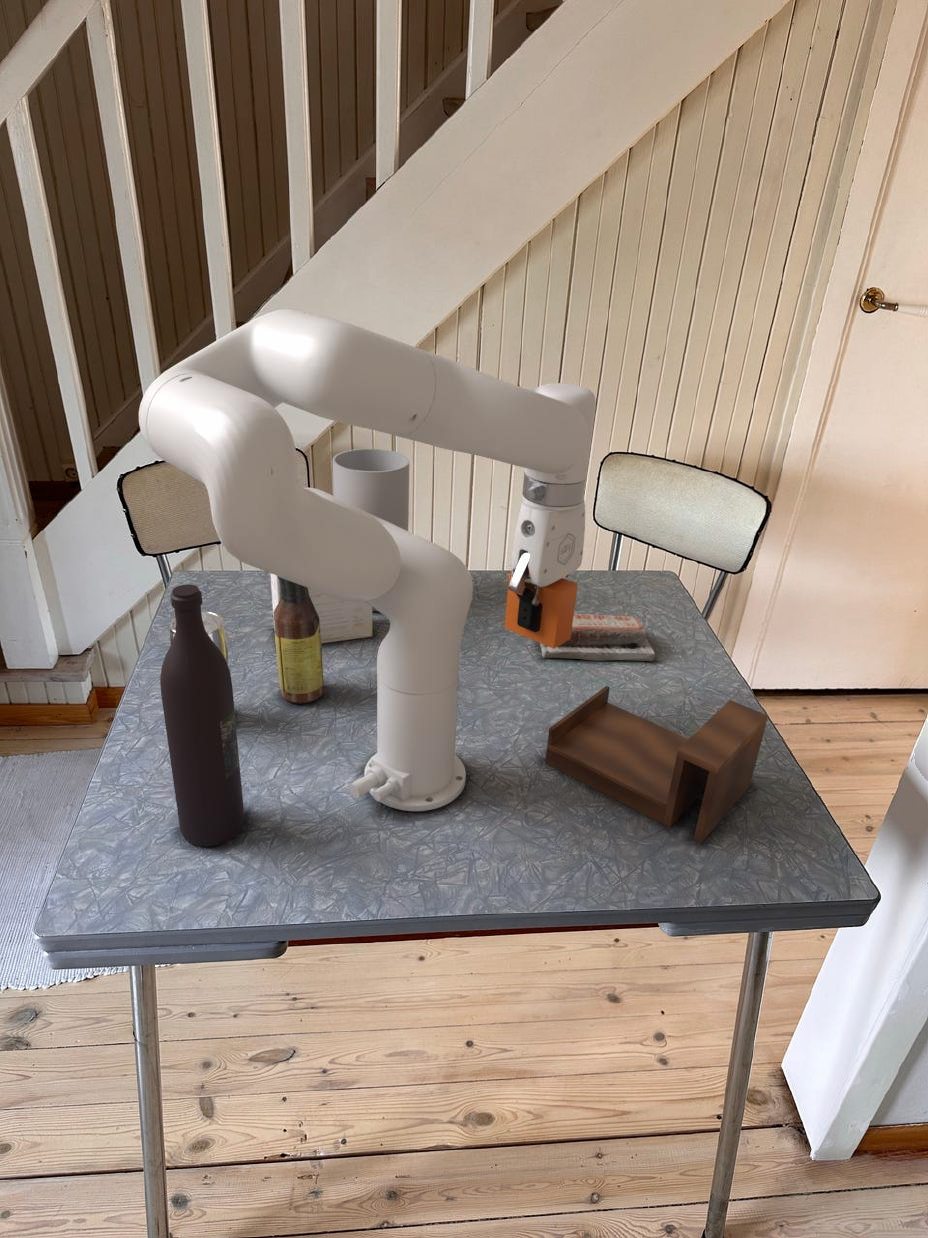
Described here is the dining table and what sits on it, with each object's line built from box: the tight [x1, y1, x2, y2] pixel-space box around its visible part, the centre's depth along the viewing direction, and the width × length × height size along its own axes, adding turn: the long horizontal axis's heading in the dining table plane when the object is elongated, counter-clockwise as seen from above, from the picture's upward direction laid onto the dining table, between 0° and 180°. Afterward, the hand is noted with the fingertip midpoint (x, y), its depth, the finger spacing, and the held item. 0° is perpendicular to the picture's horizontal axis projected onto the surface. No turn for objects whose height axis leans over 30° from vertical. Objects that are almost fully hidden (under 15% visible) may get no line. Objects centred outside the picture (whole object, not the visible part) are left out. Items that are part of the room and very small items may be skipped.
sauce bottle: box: [273, 576, 325, 704], centre depth 116 cm, size 6×6×20 cm
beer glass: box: [169, 610, 229, 666], centre depth 110 cm, size 7×7×15 cm
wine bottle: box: [159, 584, 245, 847], centre depth 89 cm, size 7×7×30 cm
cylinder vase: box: [332, 448, 410, 612], centre depth 143 cm, size 12×12×25 cm
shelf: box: [544, 685, 769, 844], centre depth 105 cm, size 14×22×11 cm, turn 50°
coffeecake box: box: [269, 573, 373, 644], centre depth 132 cm, size 15×7×20 cm, turn 111°
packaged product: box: [539, 613, 656, 662], centre depth 136 cm, size 18×5×10 cm
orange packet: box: [504, 572, 579, 649], centre depth 110 cm, size 4×8×8 cm, turn 51°
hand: (538, 621), depth 111 cm, fingers closed on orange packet, 4 cm apart
